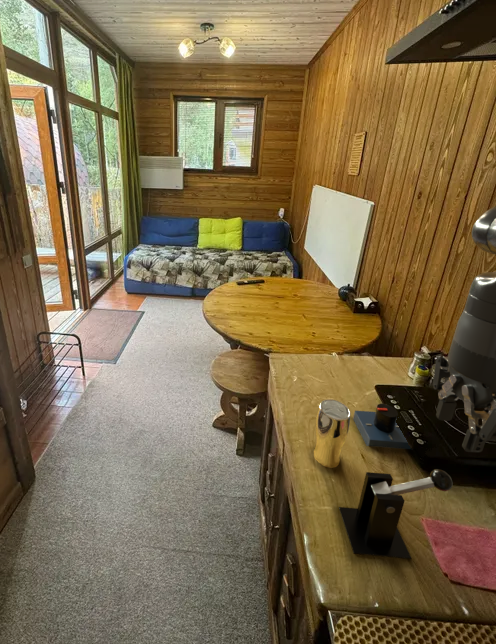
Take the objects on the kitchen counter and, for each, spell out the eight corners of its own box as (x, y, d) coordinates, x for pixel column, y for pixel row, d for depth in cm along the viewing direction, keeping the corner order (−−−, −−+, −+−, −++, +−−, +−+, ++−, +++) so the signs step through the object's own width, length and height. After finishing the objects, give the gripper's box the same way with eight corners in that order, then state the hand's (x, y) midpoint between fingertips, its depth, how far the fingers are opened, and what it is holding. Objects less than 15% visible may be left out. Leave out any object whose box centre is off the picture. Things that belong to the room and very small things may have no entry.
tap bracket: (388, 515, 62) (401, 467, 58) (410, 562, 55) (427, 511, 51) (338, 510, 63) (347, 463, 59) (352, 557, 55) (364, 506, 51)
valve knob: (388, 419, 83) (392, 403, 81) (397, 433, 78) (402, 416, 77) (370, 418, 83) (373, 402, 82) (378, 432, 79) (382, 415, 77)
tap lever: (446, 475, 55) (442, 462, 54) (458, 493, 52) (455, 479, 51) (373, 492, 58) (368, 480, 57) (381, 510, 55) (376, 497, 54)
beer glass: (304, 452, 76) (312, 403, 71) (326, 443, 79) (335, 395, 74) (325, 477, 70) (334, 424, 65) (348, 466, 73) (358, 415, 68)
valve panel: (393, 421, 86) (395, 412, 85) (413, 452, 77) (416, 442, 76) (353, 419, 87) (354, 409, 86) (367, 449, 77) (370, 439, 76)
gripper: (563, 375, 38) (518, 476, 43) (475, 322, 52) (450, 404, 57) (499, 371, 39) (463, 472, 44) (429, 320, 52) (408, 401, 58)
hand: (455, 433), depth 50 cm, fingers open, 5 cm apart
